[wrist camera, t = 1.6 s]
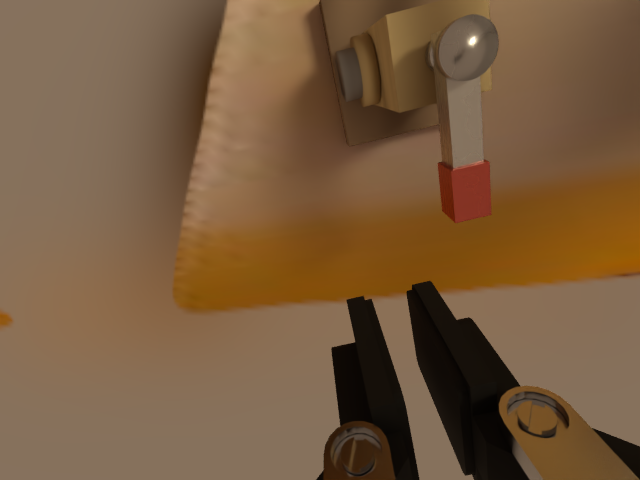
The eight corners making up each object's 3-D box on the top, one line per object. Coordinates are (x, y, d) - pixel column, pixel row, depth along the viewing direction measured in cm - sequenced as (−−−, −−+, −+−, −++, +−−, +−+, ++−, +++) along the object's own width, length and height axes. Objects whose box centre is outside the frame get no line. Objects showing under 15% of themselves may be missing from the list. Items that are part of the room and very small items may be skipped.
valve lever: (414, 32, 18) (437, 23, 15) (465, 19, 18) (497, 7, 15) (433, 208, 22) (454, 228, 19) (474, 198, 22) (502, 217, 19)
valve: (459, -35, 25) (538, -92, 17) (467, 113, 29) (534, 126, 21) (319, 2, 25) (328, -35, 17) (347, 143, 29) (365, 167, 21)
